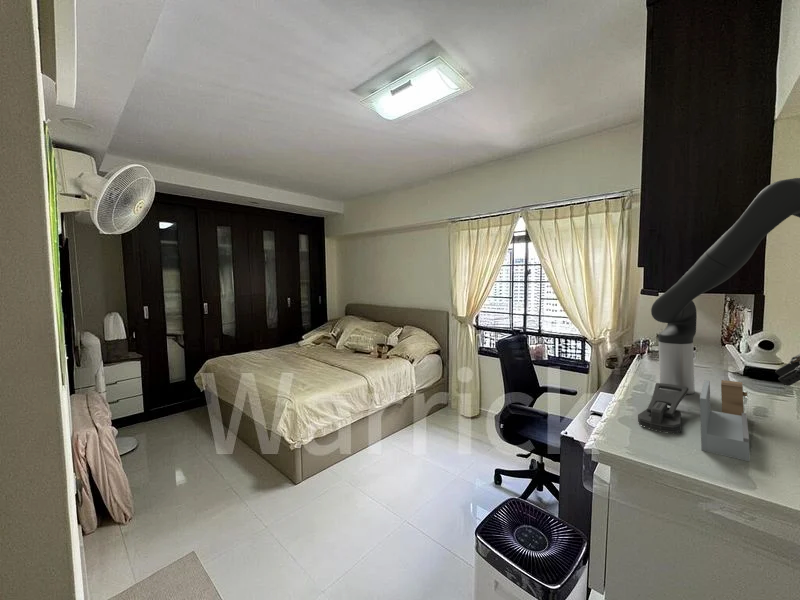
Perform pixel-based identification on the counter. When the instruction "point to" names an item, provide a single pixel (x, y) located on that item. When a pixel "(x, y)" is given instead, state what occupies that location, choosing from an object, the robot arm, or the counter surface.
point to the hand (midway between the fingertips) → (780, 378)
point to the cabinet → (732, 397)
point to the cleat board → (722, 430)
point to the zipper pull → (664, 409)
